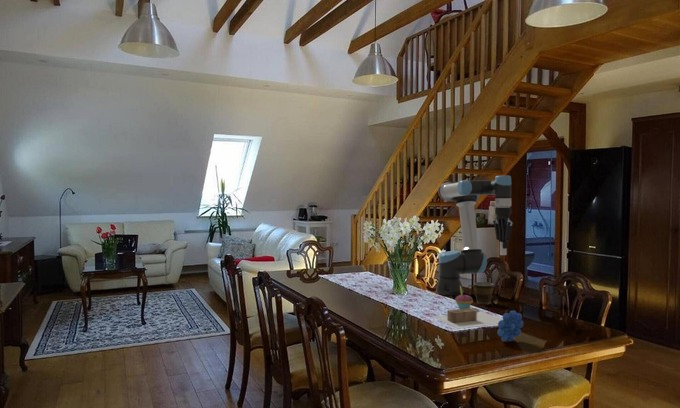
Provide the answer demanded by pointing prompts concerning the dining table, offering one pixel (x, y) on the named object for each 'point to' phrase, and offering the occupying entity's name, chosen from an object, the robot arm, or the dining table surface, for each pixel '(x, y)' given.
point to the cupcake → (463, 301)
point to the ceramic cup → (483, 292)
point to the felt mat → (482, 320)
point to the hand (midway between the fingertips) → (503, 254)
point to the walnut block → (462, 315)
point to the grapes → (510, 326)
